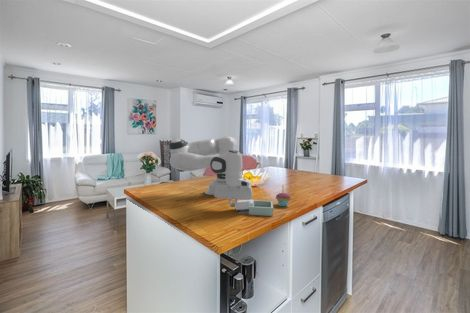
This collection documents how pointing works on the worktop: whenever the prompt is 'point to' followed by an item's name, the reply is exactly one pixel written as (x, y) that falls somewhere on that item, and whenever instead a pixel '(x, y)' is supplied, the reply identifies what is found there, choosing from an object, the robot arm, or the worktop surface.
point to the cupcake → (283, 198)
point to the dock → (259, 208)
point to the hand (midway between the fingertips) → (232, 206)
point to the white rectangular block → (244, 204)
